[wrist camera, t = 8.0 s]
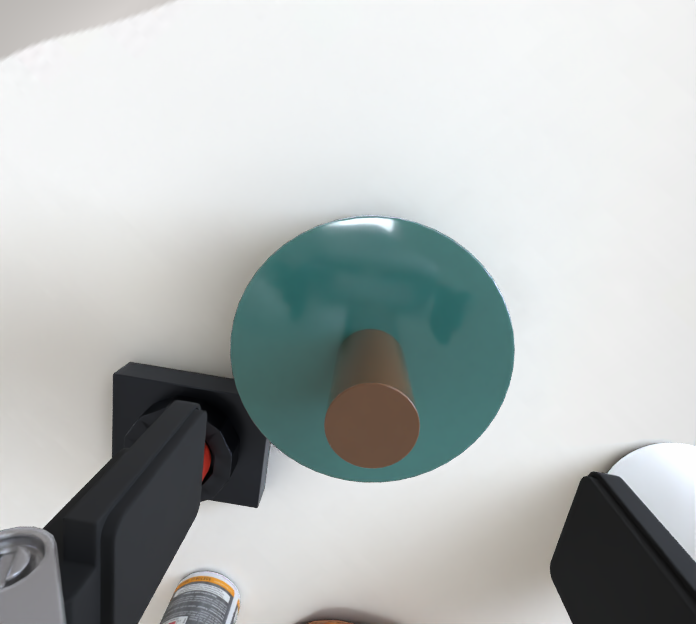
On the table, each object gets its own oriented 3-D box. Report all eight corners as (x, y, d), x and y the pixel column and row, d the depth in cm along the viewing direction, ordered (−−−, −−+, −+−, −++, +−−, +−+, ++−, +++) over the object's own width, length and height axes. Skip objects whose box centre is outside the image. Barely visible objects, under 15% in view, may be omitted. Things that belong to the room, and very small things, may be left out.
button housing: (127, 466, 34) (96, 501, 30) (129, 361, 31) (96, 384, 27) (264, 488, 34) (251, 526, 30) (277, 386, 31) (265, 413, 27)
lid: (227, 445, 21) (166, 553, 15) (251, 192, 18) (187, 190, 12) (470, 485, 21) (515, 611, 15) (539, 240, 18) (635, 265, 12)
